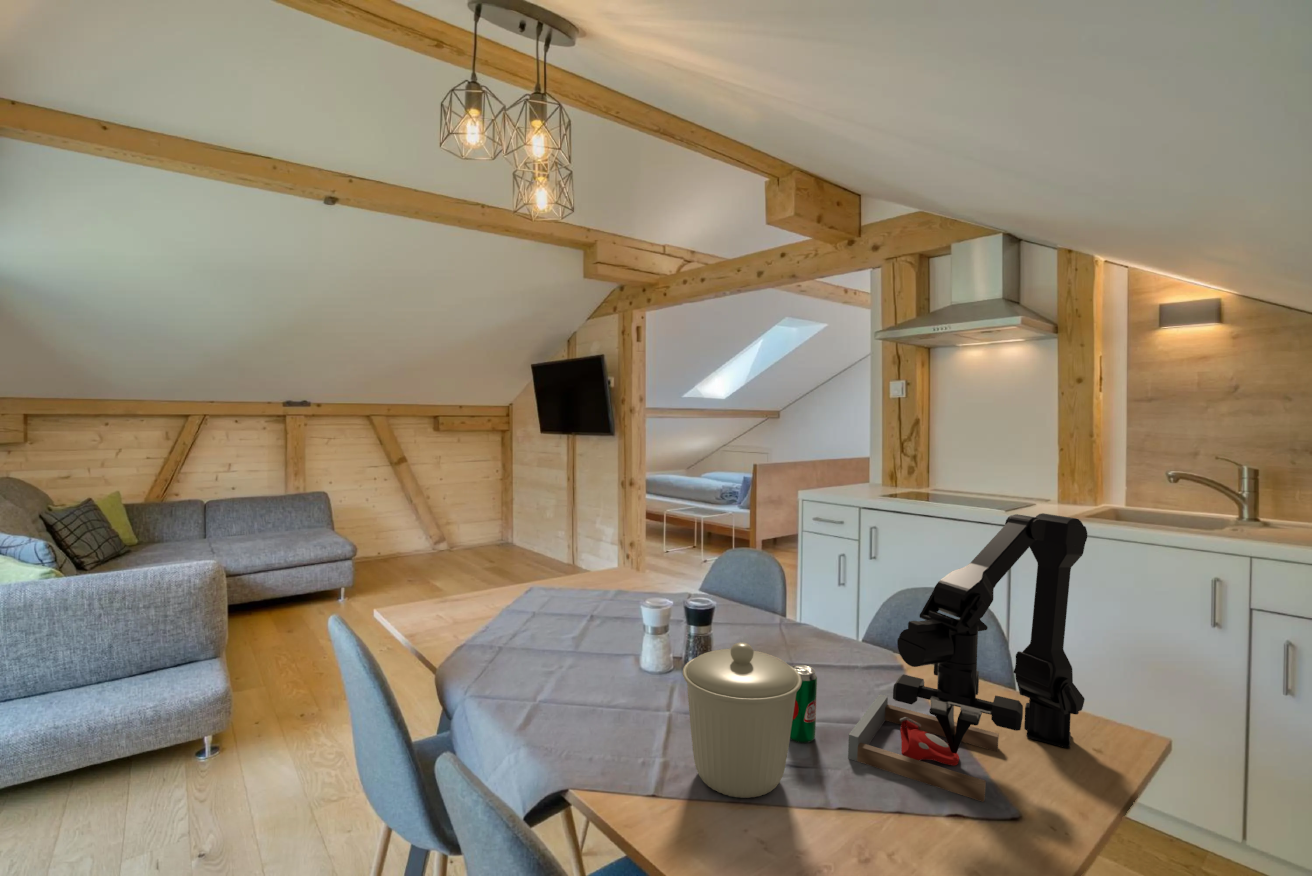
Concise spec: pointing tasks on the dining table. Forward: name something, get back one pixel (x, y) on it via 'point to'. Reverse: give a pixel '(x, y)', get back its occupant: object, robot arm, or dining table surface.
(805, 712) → the soda can
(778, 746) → the canister
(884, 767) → the walnut channel
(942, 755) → the tracker holder
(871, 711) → the end stop
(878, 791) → the dining table surface
